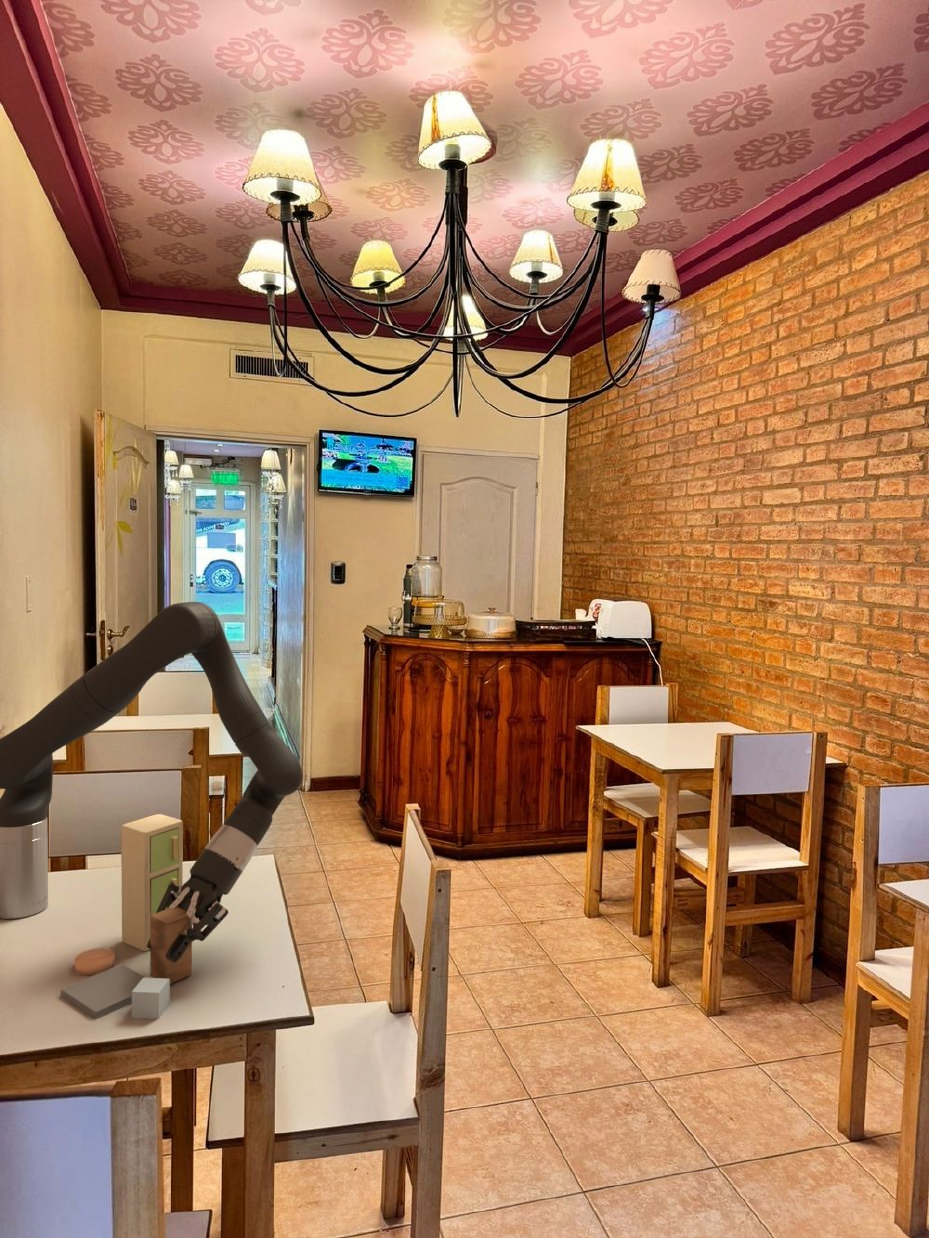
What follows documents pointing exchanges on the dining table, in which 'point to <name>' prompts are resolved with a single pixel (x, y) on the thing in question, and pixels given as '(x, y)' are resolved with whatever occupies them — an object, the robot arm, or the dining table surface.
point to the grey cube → (150, 998)
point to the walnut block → (168, 945)
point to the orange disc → (94, 961)
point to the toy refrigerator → (148, 872)
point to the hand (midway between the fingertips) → (160, 954)
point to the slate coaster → (103, 990)
